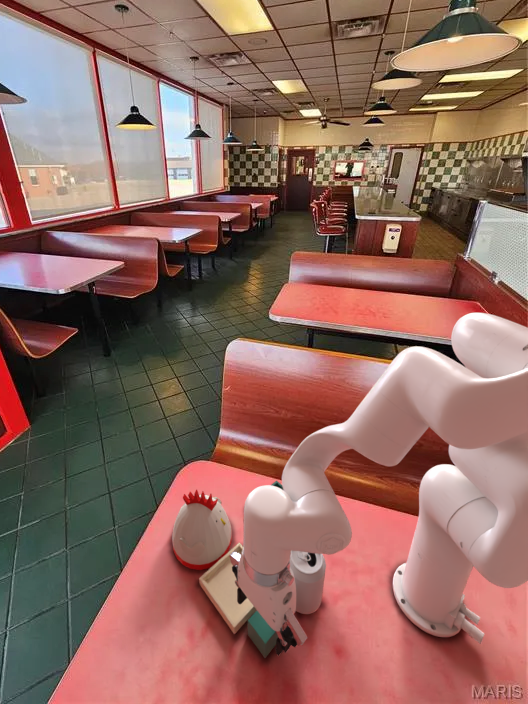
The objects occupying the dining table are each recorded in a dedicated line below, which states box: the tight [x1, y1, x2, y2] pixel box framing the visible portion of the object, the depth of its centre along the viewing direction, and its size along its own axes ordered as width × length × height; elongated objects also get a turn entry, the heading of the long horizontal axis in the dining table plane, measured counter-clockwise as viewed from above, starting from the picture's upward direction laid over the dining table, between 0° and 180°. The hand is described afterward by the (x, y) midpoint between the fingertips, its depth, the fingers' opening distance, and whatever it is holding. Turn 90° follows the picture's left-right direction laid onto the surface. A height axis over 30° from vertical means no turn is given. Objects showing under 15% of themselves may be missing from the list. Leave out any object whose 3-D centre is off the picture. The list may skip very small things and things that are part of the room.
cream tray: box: [198, 541, 257, 635], centre depth 68 cm, size 11×11×2 cm
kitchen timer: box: [171, 488, 233, 571], centre depth 75 cm, size 14×14×15 cm
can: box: [290, 550, 327, 615], centre depth 65 cm, size 8×8×12 cm
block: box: [247, 610, 284, 659], centre depth 60 cm, size 4×4×4 cm
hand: (262, 620), depth 59 cm, fingers open, 9 cm apart
